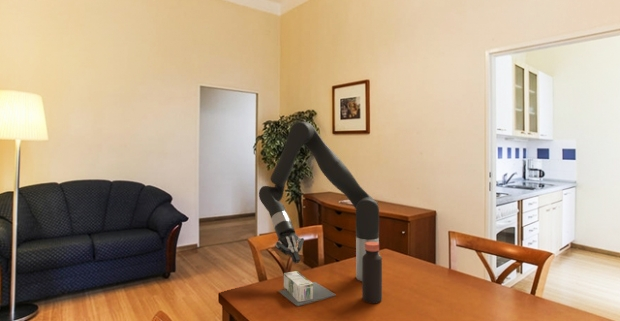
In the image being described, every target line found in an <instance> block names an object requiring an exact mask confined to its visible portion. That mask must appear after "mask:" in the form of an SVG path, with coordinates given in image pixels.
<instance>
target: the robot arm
mask: <svg viewBox="0 0 620 321" xmlns="http://www.w3.org/2000/svg"><path fill="white" fill-rule="evenodd" d="M303 146H304V147H305V148H306V149H308V151H309V152H310V153H311V154H312V156H313V158H314V159H315V162H316V164H317V166H318V168H319V170H320V171H321V173H322V174H323V175H324V176H325V177H326V178H327V179H326V180H328V181H329V182H330V183H331V184H332V185H333V186H334V187H335V188H336V189H337V190H339V191H340V192H341V193H342V194H343V195H344V196H346V198H347V199H348V200H349V201H350V203H351V204H352V206H353V207H354V209H355V235H356V236H355V240H356V241H355V248H356V249H355V251H356V252H355V255H356V258H355V263H356V264H355V266H356V267H355V268H356V269H355V275H356V277H355V278H356V280H357V281H360V282H362V257H363V256H364V255H365V254H366V251H365V243H366V242H377V243H379V244H380V241H379V240H380V207H379V204H378V203H377V201H376V200H375V199H374V198H373V197H372V196H370V194H368V193H367V191H366V190H364V188H363V187H361V186H360V184H359V182H358V181H357V180H356V178H355V176H354V175H353V174H352V172H351V171H350V170H349V169H348V167H347V166H346V165H345V163H343V161H342V160H341V159H340V158H339V157H338V156H337V154H335V152H334V151H333V150H332V149H331V148H330V147H329V146H328V145H327V144H326V143H325V142H324V140H323V138H322V137H321V136H320V135H319V133H318V131H317V130H316V128H315V127H314V126H313V124H311V123H310V122H308V121H297V122H294V123H293V124H292V125H291V127H290V129H289V131H288V135H287V138H286V142H285V145H284V147H283V150H282V152H281V155H280V156H279V159H278V162H277V164H276V166H275V167H274V169H273V172H272V173H271V175H270V178H269V179H270V181H271V183H272V184H274V186H270V185H264V186H262V187H260V189H259V190H258V197H259V200H260V202H261V204H262V205H263V206H264V208H265V209H266V210H267V211H268V214H269V216H270V219H271V222H272V226H273V229H274V231H275V235H276V236H277V239H278V240H277V242H276V243H275V245H274V247H275V249H277V250H279V251H280V252H282V254H284V255H286V256H287V255H289V256H290V258H291V261H292V262H293V263H294V264H299V263H300V261H301V257H300V254H299V253H300V251H301V250H302V247H303V246H304V245H303V244H304V241H305V238H304V237H299V236H298V235H297V233H296V230H295V228H294V226H293V223H292V219H291V218H290V216H289V214H288V213H287V210H286V207H285V205H284V204H283V202H281V200H283V196H284V193H285V192H284V191H285V187H286V182H287V180H288V179H289V177H290V175H291V173H292V172H293V171H292V170H293V168H294V164H295V161H296V157H297V155H298V153H299V151H300V150H301V148H302V147H303ZM378 254H379V255H380V251H379V252H378Z"/></svg>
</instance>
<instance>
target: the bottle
mask: <svg viewBox="0 0 620 321" xmlns="http://www.w3.org/2000/svg"><path fill="white" fill-rule="evenodd" d="M365 251H366V254H365V255H364V256H363V257H362V281H361V282H362V283H361V285H362V286H361V287H362V288H361V289H362V294H361V295H362V301H364V302H366V303H369V304H379V303H381V302H382V300H383V258H382V256H381V254H380V242H379V243H377V242H366V243H365ZM378 252H379V254H378Z"/></svg>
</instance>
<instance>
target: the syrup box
mask: <svg viewBox="0 0 620 321" xmlns="http://www.w3.org/2000/svg"><path fill="white" fill-rule="evenodd" d="M283 288H284V289H286V290H287V291H288V292H289V293H290V294H291V295H292V296H293V297H294V298H295V299H296V300H297V301H298V302H301V301H306V300H310V299H313V282H312V281H311V280H310V279H308V278H307V277H305V276H304V275H303V274H301V273H300V272H299V271H298V270H295V271H288V272H284V273H283Z"/></svg>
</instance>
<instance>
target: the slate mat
mask: <svg viewBox="0 0 620 321" xmlns="http://www.w3.org/2000/svg"><path fill="white" fill-rule="evenodd" d="M312 283H313V299H310V300H306V301H301V302H298V301H297V300H296V299H295V298H294V297H293V296H292V295H291V294H290V293H289V292H288V291H287V290H286V289H285V288H284V289H280V290H278V293H280V294H281V295H282V296H283V297H285V299H287V300H288V301H289V302H291V303H292V304H293V305H295V306H296V307H301V306H305V305H308V304H311V303H316V302H319V301H322V300H326V299H329V298H333V297H336V293H334V292H332V291H331V290H329V289H328V288H326V287H324V286H322V285H321V284H319V283H317V282H316V281H314V282H312Z"/></svg>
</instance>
